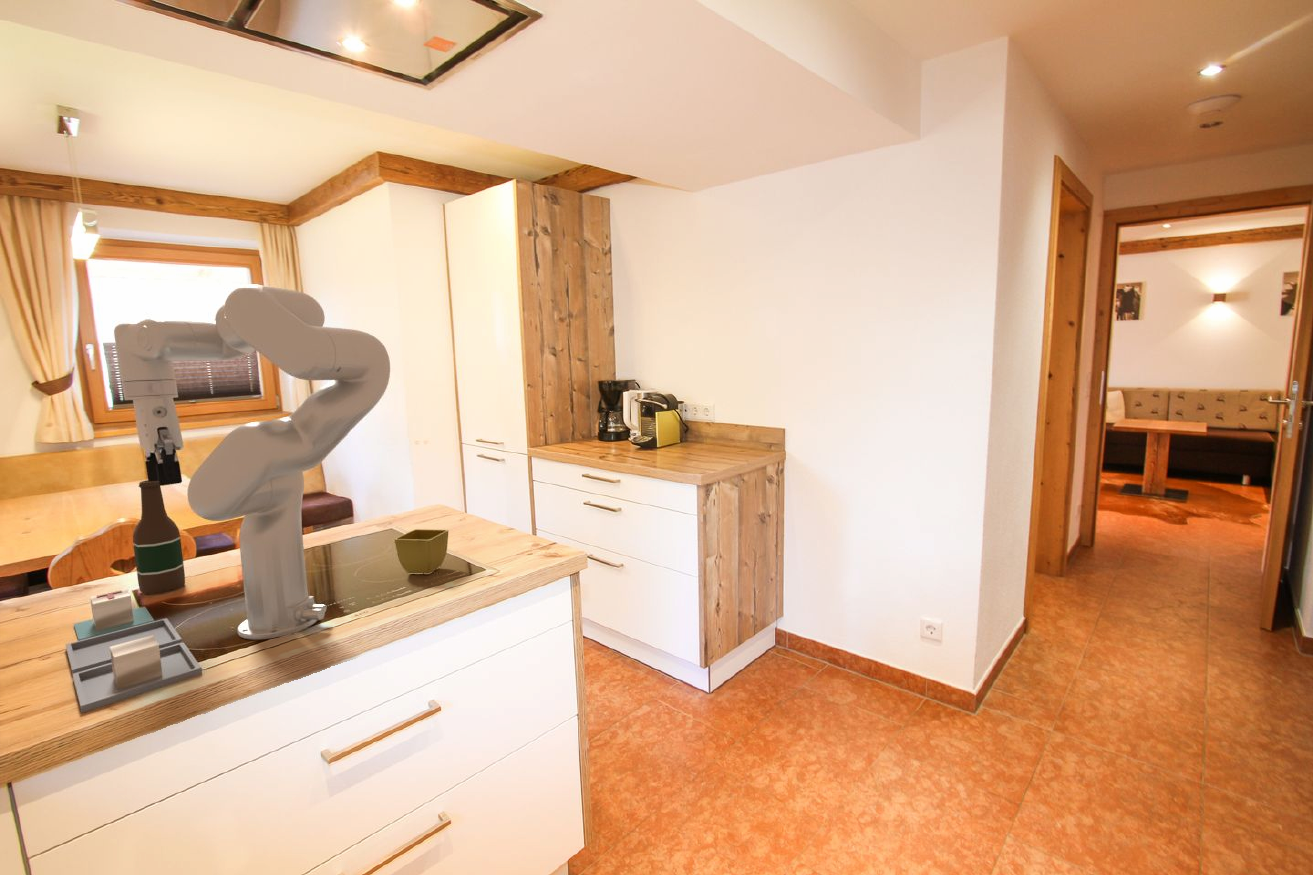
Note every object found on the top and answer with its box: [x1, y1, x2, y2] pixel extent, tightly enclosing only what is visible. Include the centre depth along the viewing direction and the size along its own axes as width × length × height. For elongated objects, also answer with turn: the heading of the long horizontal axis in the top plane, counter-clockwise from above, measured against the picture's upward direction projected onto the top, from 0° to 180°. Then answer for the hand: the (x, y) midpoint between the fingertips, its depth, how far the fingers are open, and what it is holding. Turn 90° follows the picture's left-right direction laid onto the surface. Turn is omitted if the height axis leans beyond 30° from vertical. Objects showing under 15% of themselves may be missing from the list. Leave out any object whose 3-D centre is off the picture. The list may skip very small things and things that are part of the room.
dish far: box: [65, 617, 183, 675], centre depth 98 cm, size 13×13×1 cm
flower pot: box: [394, 528, 449, 574], centre depth 133 cm, size 9×9×9 cm
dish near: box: [72, 641, 203, 714], centre depth 88 cm, size 13×13×1 cm
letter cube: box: [89, 588, 134, 630], centre depth 106 cm, size 5×5×5 cm
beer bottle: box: [132, 479, 186, 596], centre depth 124 cm, size 8×8×24 cm
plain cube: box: [110, 635, 163, 690], centre depth 88 cm, size 5×5×5 cm
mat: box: [73, 606, 155, 641], centre depth 107 cm, size 10×10×1 cm
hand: (164, 482), depth 108 cm, fingers open, 9 cm apart
